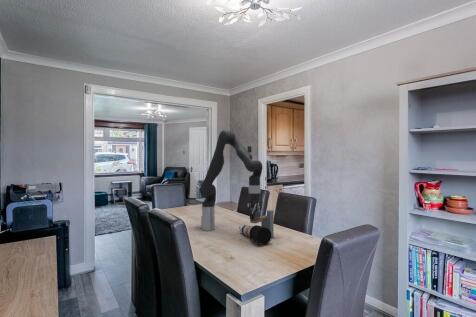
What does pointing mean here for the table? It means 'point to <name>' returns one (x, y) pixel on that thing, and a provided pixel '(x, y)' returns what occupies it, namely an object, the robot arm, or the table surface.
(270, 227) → the clamp post
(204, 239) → the table surface
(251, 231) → the telephoto camera lens
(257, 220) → the hold down bar
